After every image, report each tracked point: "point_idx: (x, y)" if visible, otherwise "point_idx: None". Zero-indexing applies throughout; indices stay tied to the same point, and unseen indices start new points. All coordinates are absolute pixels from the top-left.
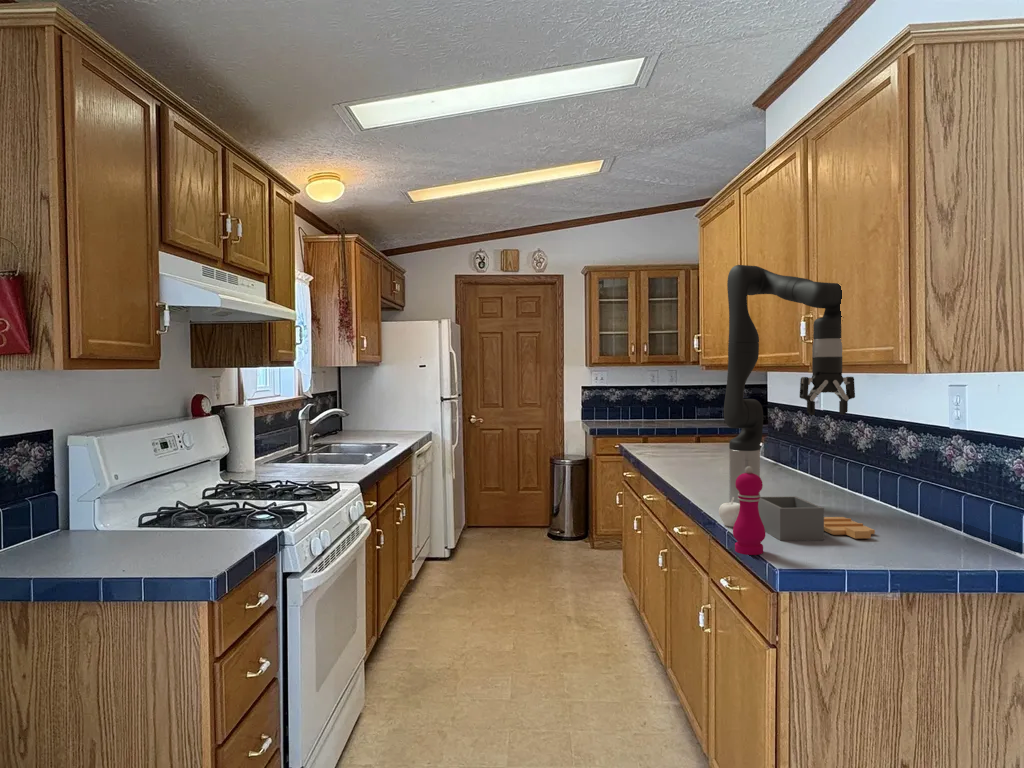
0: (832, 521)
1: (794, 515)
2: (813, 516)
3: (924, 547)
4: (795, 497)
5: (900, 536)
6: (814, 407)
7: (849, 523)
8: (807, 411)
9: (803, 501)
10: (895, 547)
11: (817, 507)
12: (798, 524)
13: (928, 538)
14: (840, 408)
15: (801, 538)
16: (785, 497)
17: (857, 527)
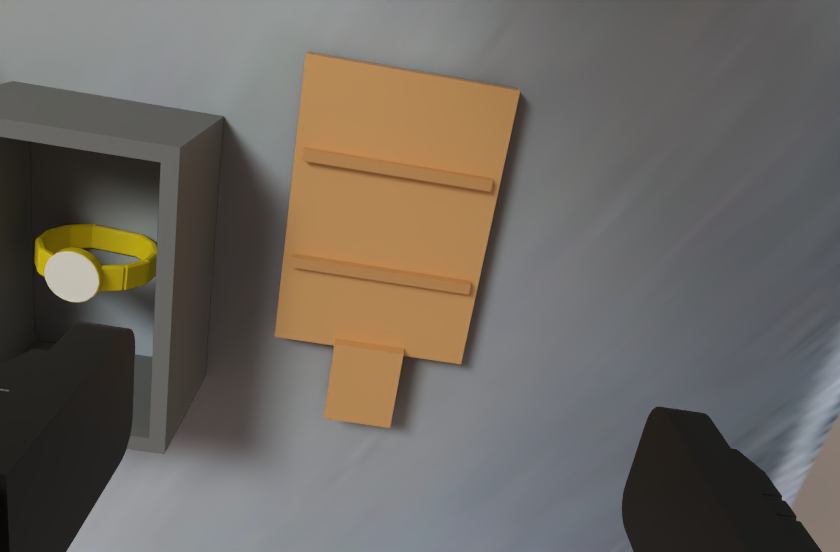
0: (390, 179)
1: None
2: None
3: (503, 521)
4: (160, 178)
5: (551, 382)
6: (65, 536)
7: (409, 280)
8: (16, 365)
9: (157, 277)
10: (404, 504)
11: (151, 420)
12: None
13: (629, 427)
14: (680, 495)
15: None
16: (105, 152)
17: (380, 366)
